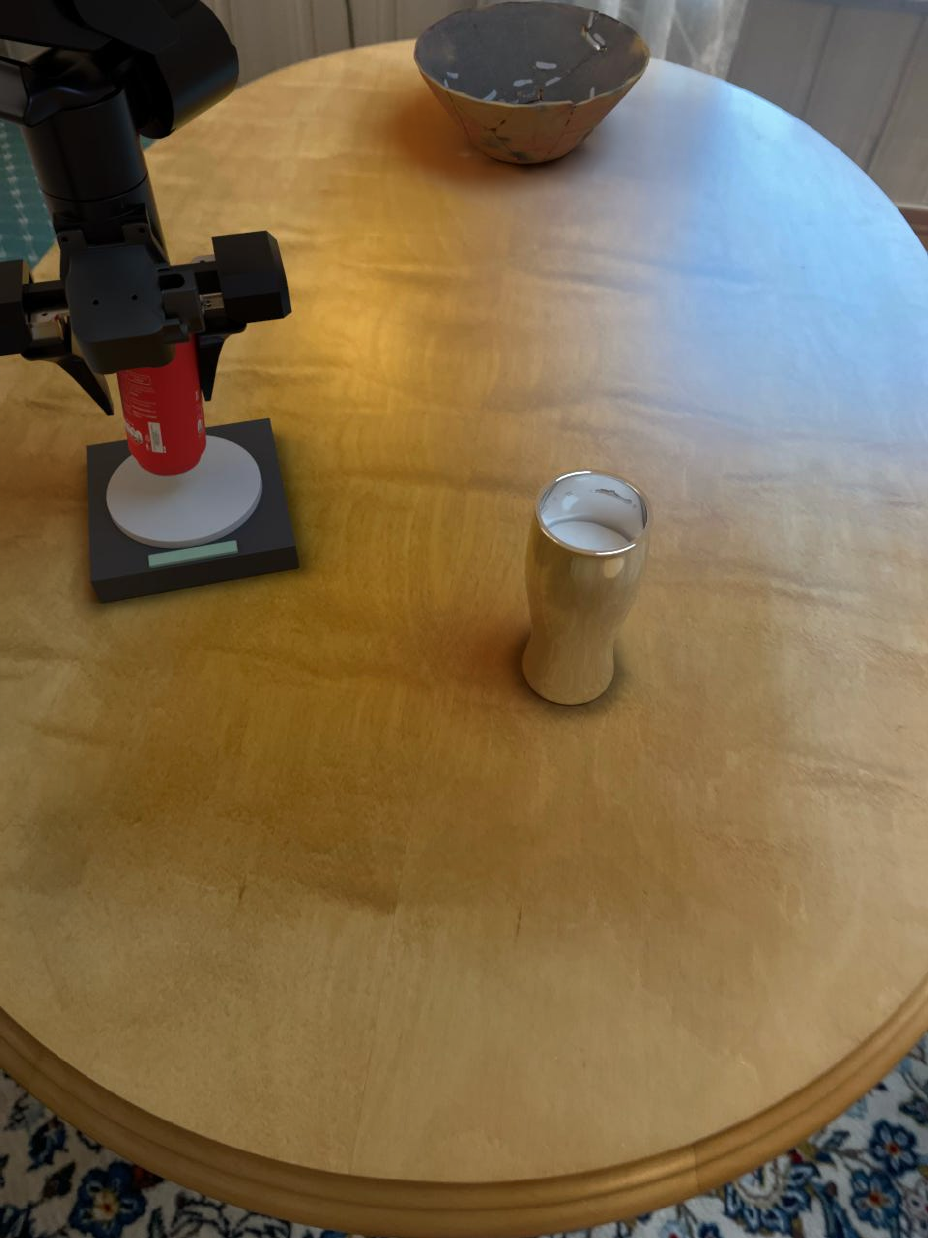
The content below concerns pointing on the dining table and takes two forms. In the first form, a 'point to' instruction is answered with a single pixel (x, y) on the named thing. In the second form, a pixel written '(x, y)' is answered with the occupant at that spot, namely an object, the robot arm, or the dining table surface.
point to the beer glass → (582, 579)
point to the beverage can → (165, 413)
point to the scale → (188, 516)
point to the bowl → (529, 74)
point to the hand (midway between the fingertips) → (159, 404)
